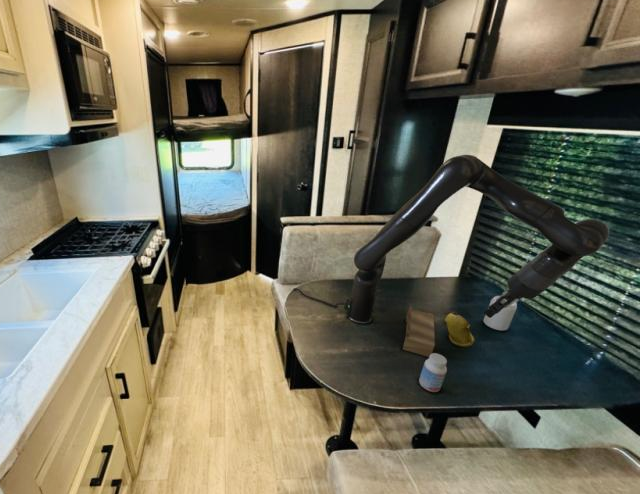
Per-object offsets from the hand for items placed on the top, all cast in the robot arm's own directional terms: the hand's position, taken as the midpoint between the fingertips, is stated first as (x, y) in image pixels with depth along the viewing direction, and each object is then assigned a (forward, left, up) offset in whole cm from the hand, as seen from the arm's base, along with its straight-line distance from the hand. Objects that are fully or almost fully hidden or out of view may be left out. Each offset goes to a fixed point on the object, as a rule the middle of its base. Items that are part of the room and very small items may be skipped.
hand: (495, 309), depth 99 cm
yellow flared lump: (-5, +9, -23) cm, 25 cm away
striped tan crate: (-18, +6, -23) cm, 30 cm away
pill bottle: (-14, -18, -23) cm, 32 cm away
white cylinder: (+10, +29, -23) cm, 39 cm away
